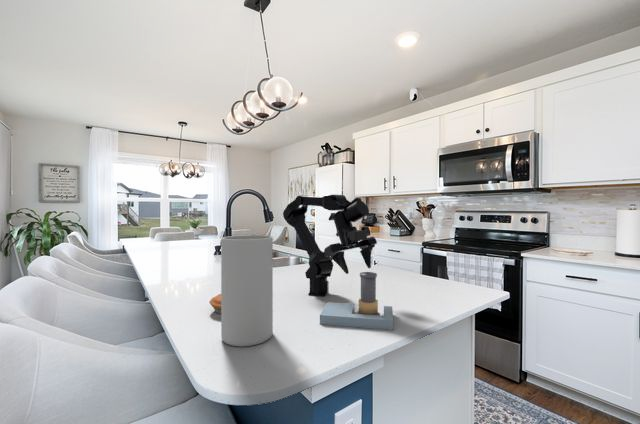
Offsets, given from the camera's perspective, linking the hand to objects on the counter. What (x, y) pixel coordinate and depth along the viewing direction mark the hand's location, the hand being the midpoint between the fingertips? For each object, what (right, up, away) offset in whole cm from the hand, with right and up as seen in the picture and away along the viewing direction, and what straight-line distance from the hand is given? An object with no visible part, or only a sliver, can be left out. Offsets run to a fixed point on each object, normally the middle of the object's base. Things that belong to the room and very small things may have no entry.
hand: (358, 270), depth 100 cm
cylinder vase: (-31, -12, -24) cm, 41 cm away
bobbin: (+1, -12, -11) cm, 16 cm away
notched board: (-2, -12, -12) cm, 17 cm away
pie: (-40, -12, -4) cm, 42 cm away
